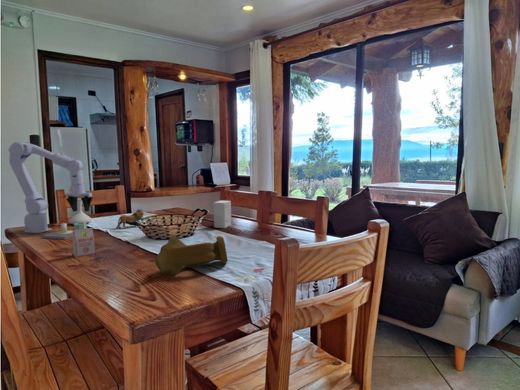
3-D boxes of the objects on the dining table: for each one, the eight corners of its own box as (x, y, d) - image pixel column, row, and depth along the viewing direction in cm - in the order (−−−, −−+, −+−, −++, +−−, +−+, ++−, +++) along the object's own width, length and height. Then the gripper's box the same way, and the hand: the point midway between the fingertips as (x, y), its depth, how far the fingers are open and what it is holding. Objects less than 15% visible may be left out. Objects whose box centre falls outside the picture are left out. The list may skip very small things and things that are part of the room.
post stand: (42, 238, 165) (41, 226, 164) (64, 231, 178) (63, 220, 177) (65, 239, 162) (64, 227, 162) (85, 232, 175) (84, 221, 174)
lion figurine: (142, 224, 193) (141, 208, 192) (146, 226, 189) (145, 209, 188) (114, 228, 184) (113, 211, 183) (117, 230, 180) (116, 212, 179)
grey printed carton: (73, 255, 138) (71, 229, 137) (92, 251, 142) (90, 227, 141) (76, 257, 135) (74, 231, 134) (95, 253, 140) (93, 228, 138)
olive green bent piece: (162, 240, 131) (221, 228, 133) (167, 276, 128) (228, 263, 131) (150, 236, 112) (220, 223, 115) (157, 278, 110) (228, 263, 113)
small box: (220, 224, 193) (220, 200, 191) (231, 225, 191) (231, 200, 189) (213, 227, 185) (213, 202, 184) (224, 228, 183) (224, 202, 181)
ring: (71, 230, 180) (71, 224, 179) (79, 228, 185) (79, 222, 185) (81, 231, 178) (81, 224, 178) (89, 228, 184) (88, 222, 183)
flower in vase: (71, 222, 200) (67, 177, 197) (93, 221, 204) (90, 177, 200) (66, 227, 188) (62, 179, 185) (90, 225, 191) (86, 178, 188)
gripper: (95, 183, 180) (98, 209, 182) (72, 183, 184) (76, 209, 186) (84, 184, 173) (87, 212, 175) (61, 185, 178) (64, 212, 180)
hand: (81, 211), depth 180 cm, fingers open, 7 cm apart
